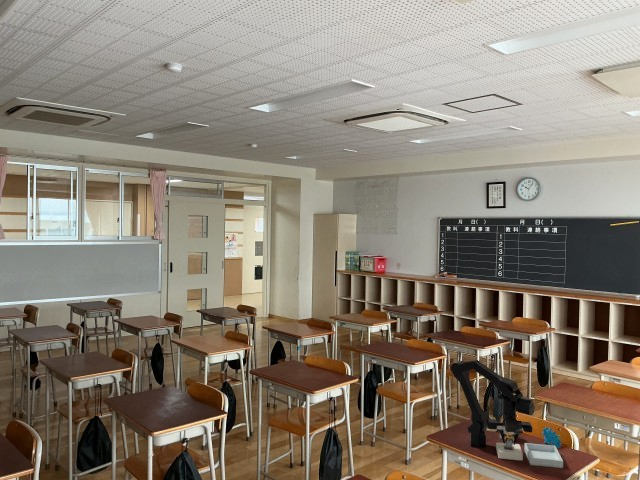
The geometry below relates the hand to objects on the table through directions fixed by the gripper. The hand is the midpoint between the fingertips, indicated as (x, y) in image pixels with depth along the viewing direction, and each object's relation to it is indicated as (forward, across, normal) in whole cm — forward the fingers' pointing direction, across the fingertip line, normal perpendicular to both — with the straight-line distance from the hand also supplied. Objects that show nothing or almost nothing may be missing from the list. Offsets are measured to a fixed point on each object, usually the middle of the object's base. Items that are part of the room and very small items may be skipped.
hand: (509, 444), depth 233 cm
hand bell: (+5, -5, +30) cm, 31 cm away
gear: (+5, +21, +15) cm, 26 cm away
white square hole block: (+4, 0, 0) cm, 4 cm away
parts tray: (+4, +14, -1) cm, 15 cm away
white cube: (+5, +2, +20) cm, 21 cm away
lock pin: (+4, 0, 0) cm, 4 cm away
